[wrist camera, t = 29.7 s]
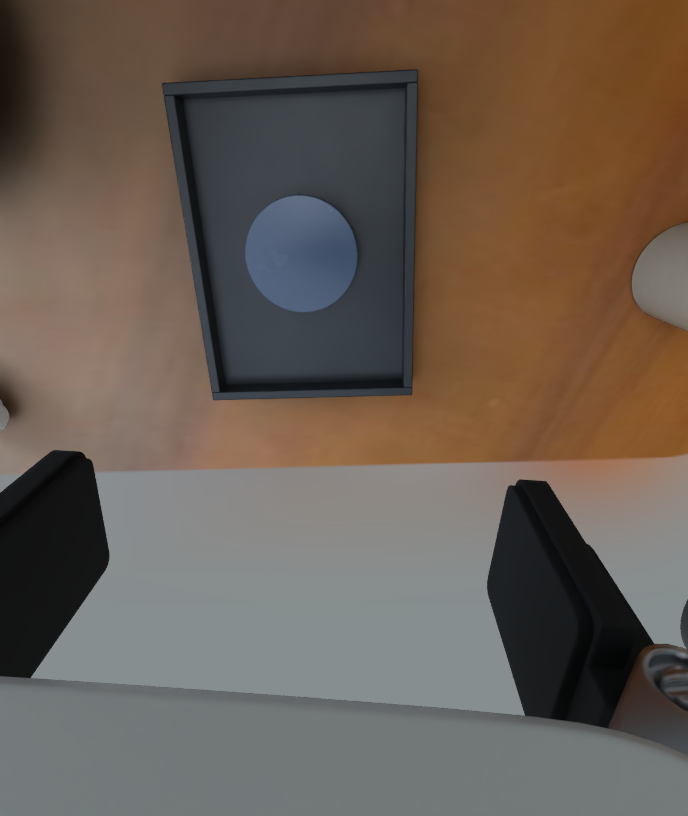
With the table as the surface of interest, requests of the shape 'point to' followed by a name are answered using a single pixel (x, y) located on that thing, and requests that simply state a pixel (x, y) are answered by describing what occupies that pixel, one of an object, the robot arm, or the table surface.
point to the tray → (308, 175)
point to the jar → (664, 277)
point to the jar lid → (301, 253)
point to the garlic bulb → (3, 416)
